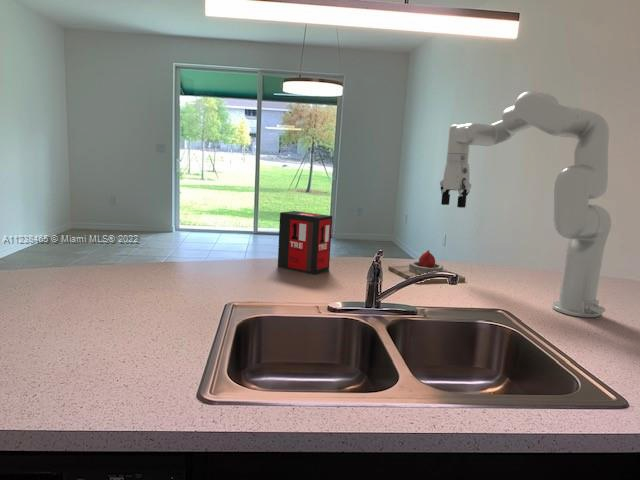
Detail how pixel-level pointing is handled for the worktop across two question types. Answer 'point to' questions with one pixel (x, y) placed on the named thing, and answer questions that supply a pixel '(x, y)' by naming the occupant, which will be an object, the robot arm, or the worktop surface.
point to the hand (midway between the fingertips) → (453, 206)
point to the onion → (427, 260)
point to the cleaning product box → (304, 242)
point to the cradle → (419, 271)
